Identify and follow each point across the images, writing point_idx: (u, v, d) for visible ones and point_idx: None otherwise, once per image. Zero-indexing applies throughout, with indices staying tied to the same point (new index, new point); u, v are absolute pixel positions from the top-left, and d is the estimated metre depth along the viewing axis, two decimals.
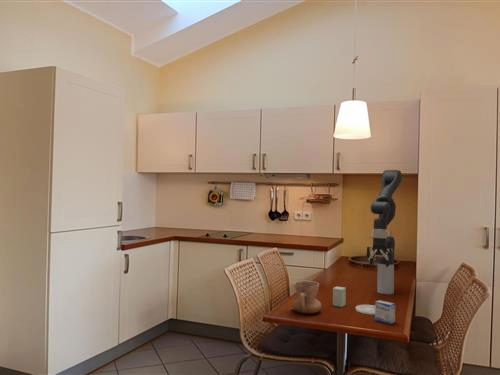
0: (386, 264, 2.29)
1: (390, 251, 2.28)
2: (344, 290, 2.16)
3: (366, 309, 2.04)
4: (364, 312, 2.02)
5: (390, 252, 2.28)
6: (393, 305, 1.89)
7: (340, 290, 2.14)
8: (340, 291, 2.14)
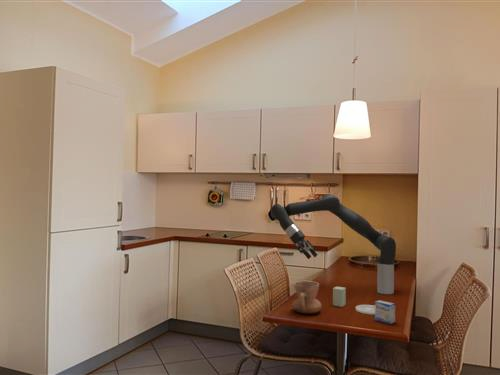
0: None
1: None
2: (344, 290, 2.16)
3: (366, 309, 2.04)
4: (364, 312, 2.02)
5: None
6: (393, 305, 1.89)
7: (340, 290, 2.14)
8: (340, 291, 2.14)
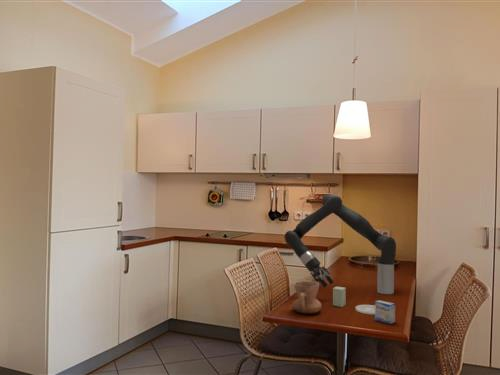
0: (323, 285, 2.17)
1: None
2: (344, 290, 2.16)
3: (366, 309, 2.04)
4: (364, 312, 2.02)
5: None
6: (393, 305, 1.89)
7: (340, 290, 2.14)
8: (340, 291, 2.14)
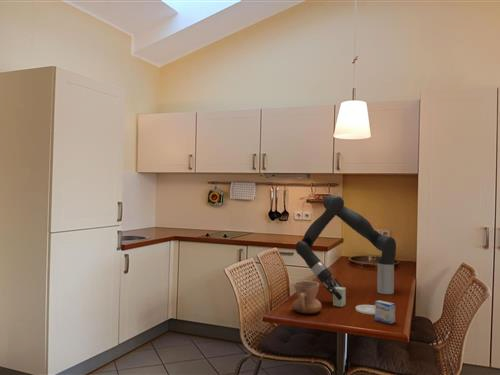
0: (337, 297, 2.14)
1: None
2: (344, 290, 2.16)
3: (366, 309, 2.04)
4: (364, 312, 2.02)
5: None
6: (393, 305, 1.89)
7: (340, 290, 2.14)
8: (340, 291, 2.14)
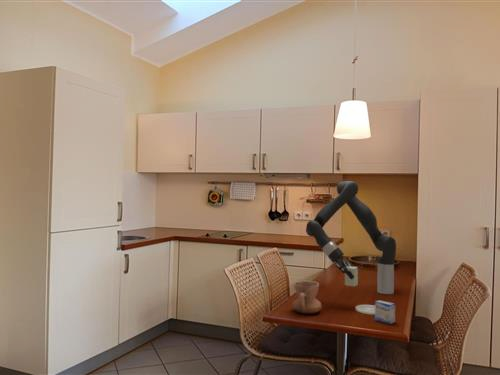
0: None
1: None
2: (356, 270, 2.12)
3: (366, 309, 2.04)
4: (364, 312, 2.02)
5: None
6: (393, 305, 1.89)
7: (352, 269, 2.10)
8: (352, 270, 2.10)
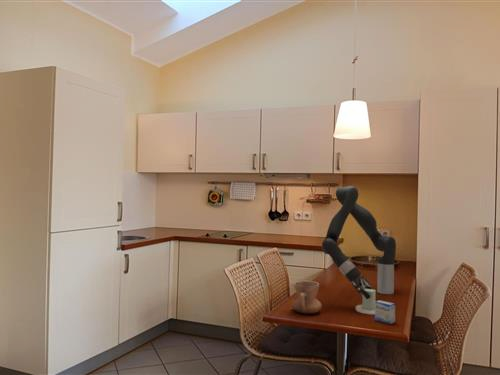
0: None
1: None
2: (374, 293, 2.06)
3: (366, 309, 2.04)
4: (364, 312, 2.02)
5: None
6: (393, 305, 1.89)
7: (370, 293, 2.04)
8: (371, 294, 2.04)
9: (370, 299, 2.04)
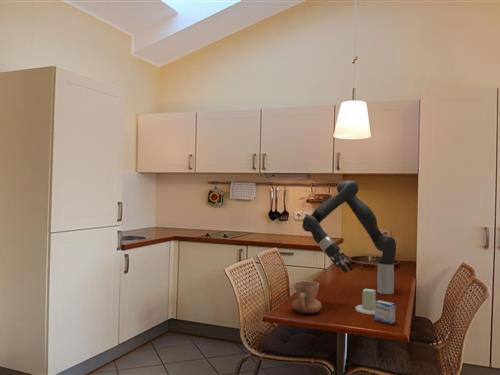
0: None
1: None
2: (374, 293, 2.06)
3: (366, 309, 2.04)
4: (364, 312, 2.02)
5: None
6: (393, 305, 1.89)
7: (370, 293, 2.04)
8: (371, 294, 2.04)
9: (370, 299, 2.04)
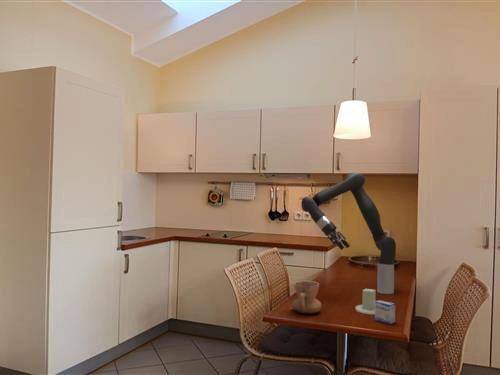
0: None
1: None
2: (374, 293, 2.06)
3: (366, 309, 2.04)
4: (364, 312, 2.02)
5: None
6: (393, 305, 1.89)
7: (370, 293, 2.04)
8: (371, 294, 2.04)
9: (370, 299, 2.04)
